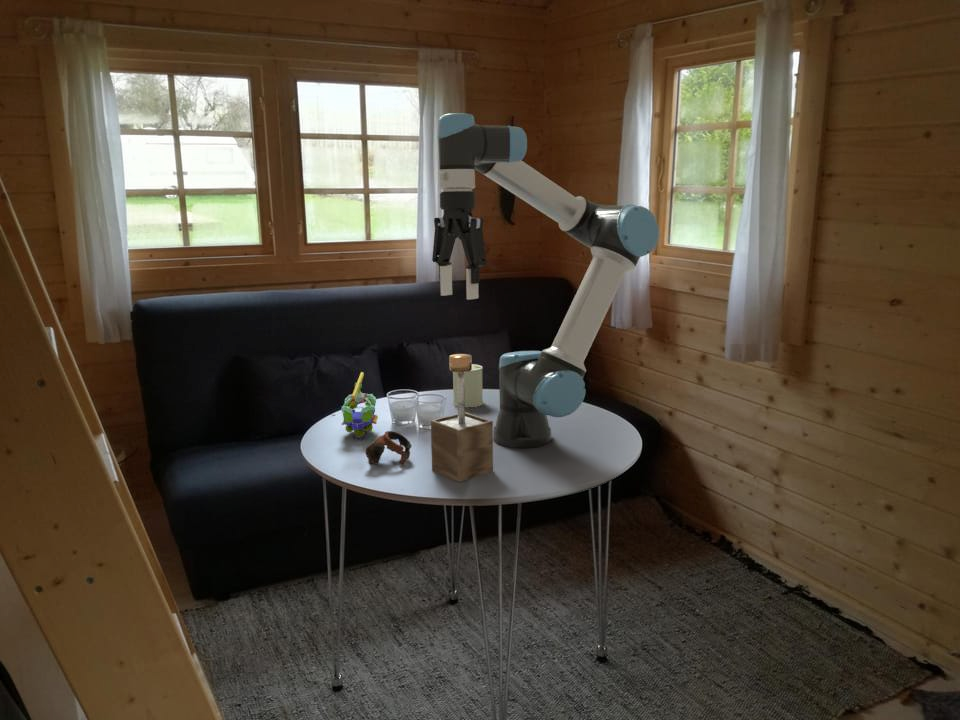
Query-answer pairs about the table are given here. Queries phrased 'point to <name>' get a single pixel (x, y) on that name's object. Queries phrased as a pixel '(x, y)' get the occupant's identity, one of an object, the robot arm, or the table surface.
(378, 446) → the brown arched band part
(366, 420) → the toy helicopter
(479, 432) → the box
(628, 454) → the table surface
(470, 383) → the can
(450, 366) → the plunger
